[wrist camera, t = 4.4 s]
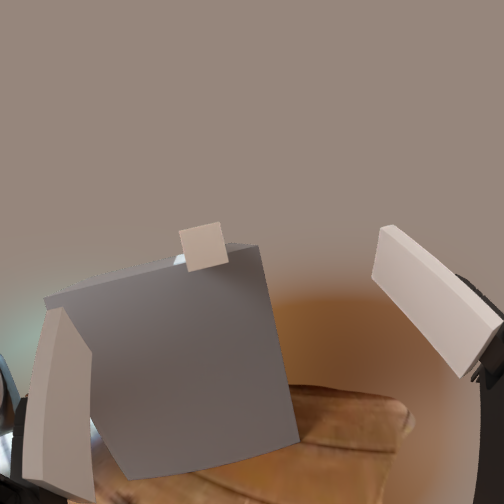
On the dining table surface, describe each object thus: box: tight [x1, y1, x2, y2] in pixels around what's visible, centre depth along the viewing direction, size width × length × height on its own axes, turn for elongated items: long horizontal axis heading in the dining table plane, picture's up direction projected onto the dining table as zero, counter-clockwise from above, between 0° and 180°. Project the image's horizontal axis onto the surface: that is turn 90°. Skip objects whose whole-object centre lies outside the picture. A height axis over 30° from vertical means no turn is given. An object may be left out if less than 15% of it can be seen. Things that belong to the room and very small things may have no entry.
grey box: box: [44, 243, 300, 480], centre depth 42 cm, size 20×26×29 cm
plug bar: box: [179, 222, 229, 272], centre depth 35 cm, size 28×3×3 cm, turn 14°
